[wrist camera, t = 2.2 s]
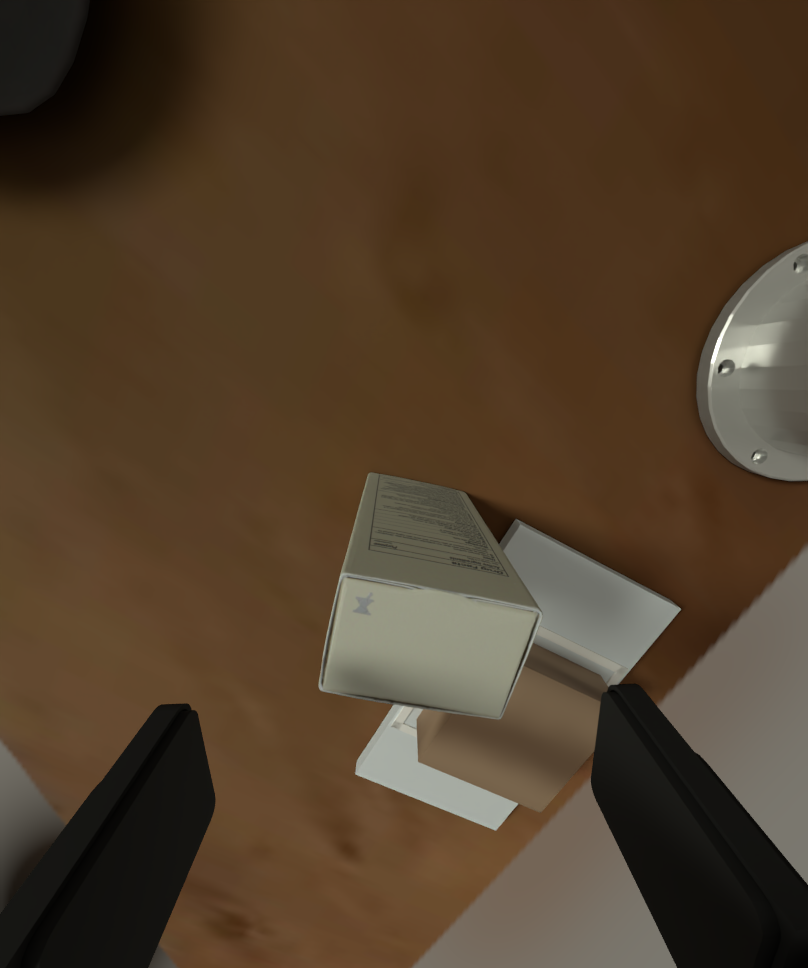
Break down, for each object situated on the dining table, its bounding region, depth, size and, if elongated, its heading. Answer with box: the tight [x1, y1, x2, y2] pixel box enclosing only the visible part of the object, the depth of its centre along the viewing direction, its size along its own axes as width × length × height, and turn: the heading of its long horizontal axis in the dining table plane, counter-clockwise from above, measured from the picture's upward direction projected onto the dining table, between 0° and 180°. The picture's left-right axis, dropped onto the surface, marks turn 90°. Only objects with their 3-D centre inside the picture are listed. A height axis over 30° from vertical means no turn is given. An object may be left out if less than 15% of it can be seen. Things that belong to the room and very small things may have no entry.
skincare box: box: [319, 473, 543, 720], centre depth 17 cm, size 6×4×12 cm
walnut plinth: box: [416, 643, 608, 813], centre depth 24 cm, size 9×9×3 cm
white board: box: [355, 519, 681, 830], centre depth 26 cm, size 22×12×1 cm, turn 152°
